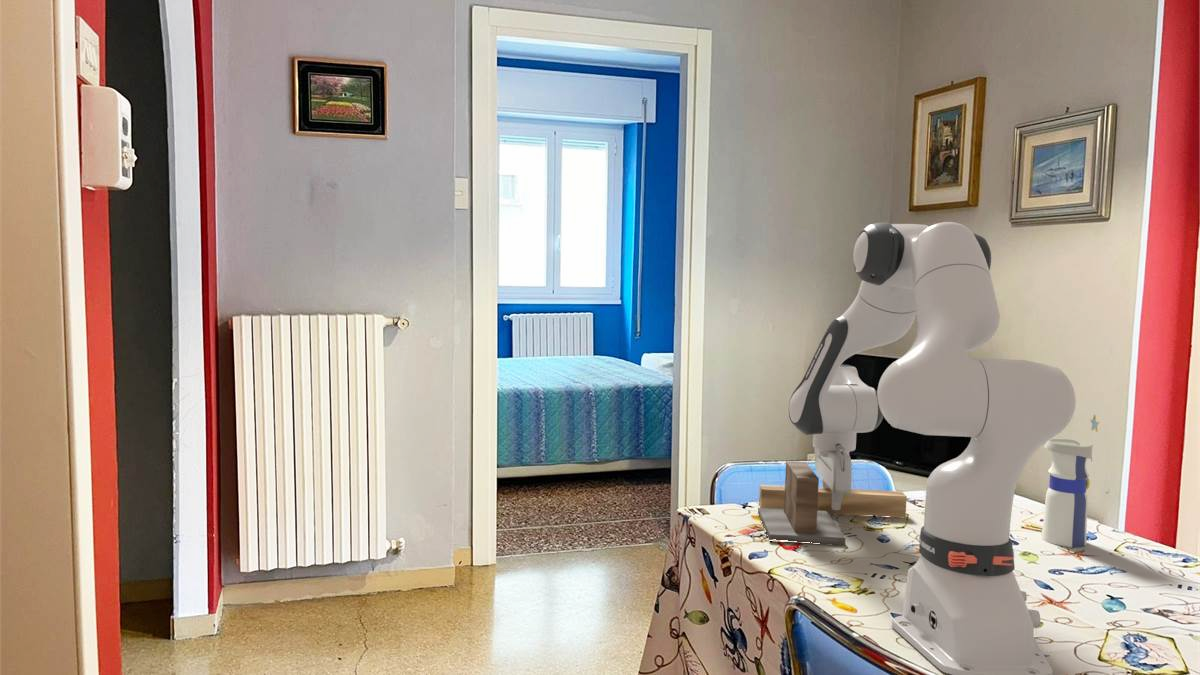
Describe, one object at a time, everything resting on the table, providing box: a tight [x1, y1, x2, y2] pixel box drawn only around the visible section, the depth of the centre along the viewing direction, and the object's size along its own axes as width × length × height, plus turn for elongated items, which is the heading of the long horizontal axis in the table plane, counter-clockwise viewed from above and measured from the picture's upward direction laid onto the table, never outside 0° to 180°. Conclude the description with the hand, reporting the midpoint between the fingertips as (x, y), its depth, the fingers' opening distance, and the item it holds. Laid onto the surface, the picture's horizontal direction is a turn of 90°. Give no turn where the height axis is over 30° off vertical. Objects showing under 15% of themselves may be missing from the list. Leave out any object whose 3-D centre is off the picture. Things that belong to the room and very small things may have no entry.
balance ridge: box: [757, 461, 846, 546], centre depth 166 cm, size 18×14×12 cm
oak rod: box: [758, 484, 908, 519], centre depth 179 cm, size 4×30×5 cm, turn 85°
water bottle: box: [1041, 414, 1100, 548], centre depth 163 cm, size 8×9×25 cm
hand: (831, 503), depth 179 cm, fingers open, 7 cm apart
